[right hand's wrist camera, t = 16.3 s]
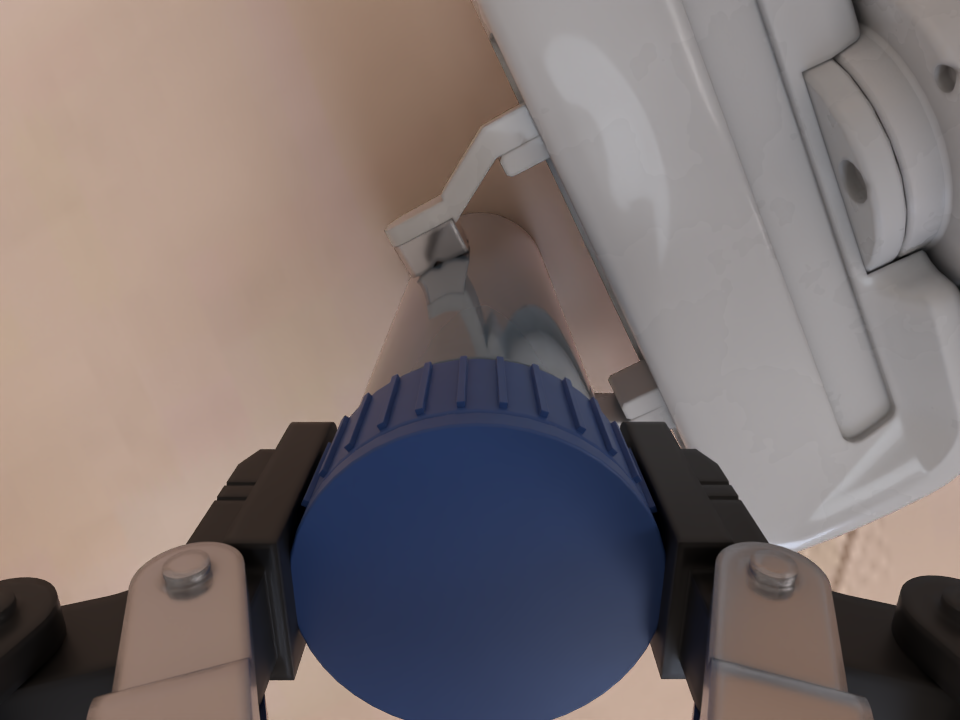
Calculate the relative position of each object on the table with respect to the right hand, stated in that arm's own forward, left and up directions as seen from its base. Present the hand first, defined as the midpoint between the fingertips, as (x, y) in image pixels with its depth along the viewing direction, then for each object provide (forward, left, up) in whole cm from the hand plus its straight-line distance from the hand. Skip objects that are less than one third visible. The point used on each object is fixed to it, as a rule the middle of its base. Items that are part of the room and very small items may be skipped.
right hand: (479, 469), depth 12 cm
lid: (0, 0, +3) cm, 3 cm away
